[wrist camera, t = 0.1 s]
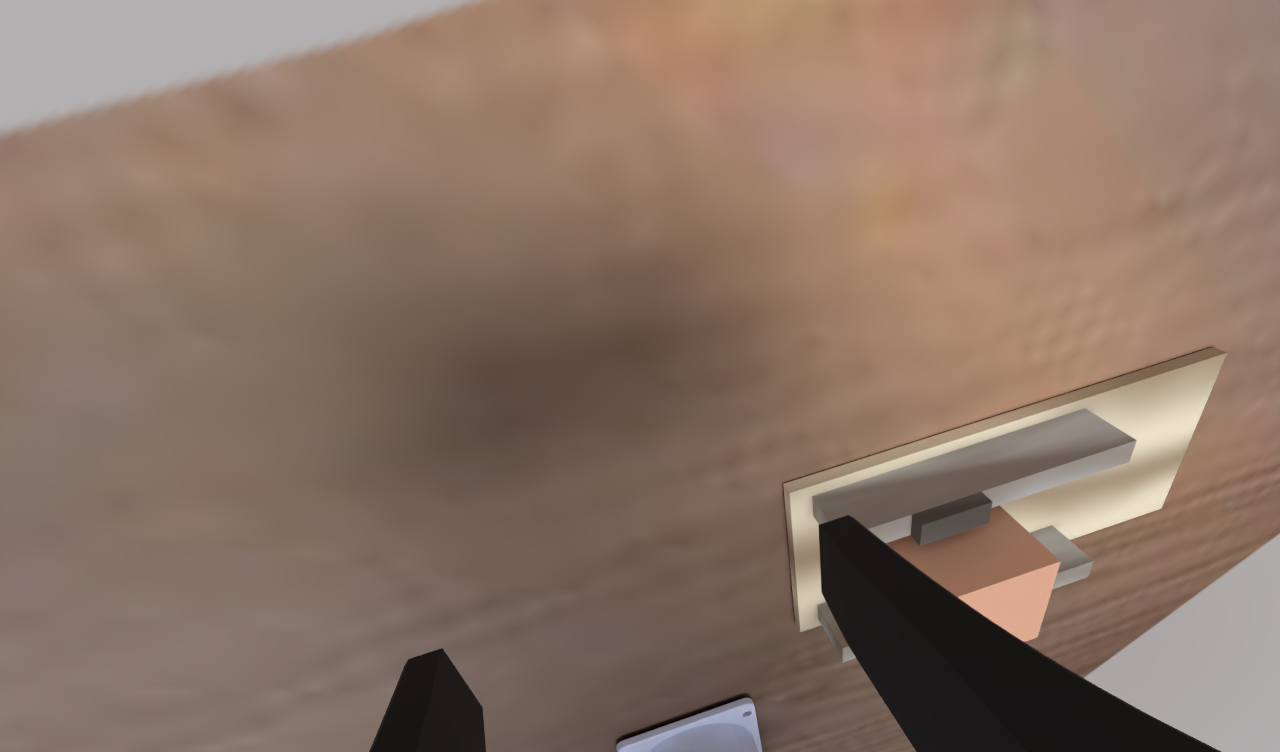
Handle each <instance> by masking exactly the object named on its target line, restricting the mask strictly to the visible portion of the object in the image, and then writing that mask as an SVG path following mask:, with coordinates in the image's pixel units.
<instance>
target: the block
mask: <svg viewBox="0 0 1280 752" xmlns="http://www.w3.org/2000/svg"><path fill="white" fill-rule="evenodd" d="M886 544H887V545H888V546H890V547H891V548H892V549H893V550H895V551H896V552H897V553H898V554H900V555H901V556H902V557H904V558H905V559H906V560H908V561H909V562H910V563H912V564H913V565H914V566H915V567H917V568H918V569H919V570H921V571H922V572H923V573H925V574H926V575H927V576H929V577H930V578H931V579H933V580H934V581H936V582H937V583H938V584H940V585H941V586H943V587H944V588H945V589H947V590H948V591H950V592H951V593H952V594H954V595H955V596H957V597H958V598H959V599H961V600H962V601H964V602H965V603H966V604H968V605H969V606H971V607H972V608H973V609H975V610H976V611H978V612H979V613H981V614H982V615H984V616H985V617H987V618H988V619H990V620H991V621H992V622H994V623H995V624H997V625H999V626H1000V627H1002V628H1003V629H1005V630H1006V631H1008V632H1009V633H1011V634H1012V635H1014V636H1015V637H1017V638H1018V639H1020V640H1021V641H1023V642H1025V641H1028V640H1031V639H1034V638H1037V637H1038V633H1039V630H1040V627H1041V624H1042V621H1043V617H1044V614H1045V611H1046V608H1047V604H1048V601H1049V598H1050V595H1051V592H1052V588H1053V585H1054V582H1055V579H1056V575H1057V572H1058V569H1059V566H1060V563H1061V561H1060V560H1059V559H1058V558H1057V557H1056V556H1055V555H1054V554H1052V553H1051V552H1050V551H1049V550H1048V549H1047V548H1046V547H1045V546H1044V545H1043V544H1041V543H1040V542H1039V541H1038V540H1037V539H1036V538H1035V537H1034V536H1033V535H1032V534H1030V533H1029V532H1028V531H1027V530H1026V529H1025V528H1024V527H1023V526H1022V525H1021V524H1019V523H1018V522H1017V521H1016V520H1015V519H1014V518H1013V517H1012V516H1011V515H1010V514H1008V513H1007V512H1006V511H1005V510H1004V509H1003V508H1002V507H1001V506H1000V505H999V506H996V507H993V508H991V513H990V518H989V523H987V524H984V525H981V526H978V527H975V528H972V529H969V530H966V531H963V532H960V533H957V534H954V535H951V536H948V537H945V538H943V539H940V540H937V541H934V542H931V543H928V544H925V545H922V546H919V544H918V543H917V542H916V541H915V540H914V538H913V537H912V536H911V535H909V536H906V537H903V538H900V539H897V540H894V541H891V542H888V543H886Z"/></svg>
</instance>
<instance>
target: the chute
mask: <svg viewBox="0 0 1280 752" xmlns="http://www.w3.org/2000/svg"><path fill="white" fill-rule="evenodd" d="M1226 355H1227V353H1226V352H1224V351H1222V350H1219V349H1217V348H1214V347H1211V348H1208V349H1205V350H1201V351H1198V352H1195V353H1192V354H1189V355H1186V356H1183V357H1179V358H1176V359H1173V360H1170V361H1167V362H1164V363H1161V364H1158V365H1154V366H1151V367H1148V368H1145V369H1142V370H1139V371H1136V372H1132V373H1129V374H1126V375H1123V376H1120V377H1117V378H1114V379H1110V380H1107V381H1104V382H1101V383H1098V384H1095V385H1092V386H1089V387H1085V388H1082V389H1079V390H1076V391H1073V392H1070V393H1067V394H1063V395H1060V396H1057V397H1054V398H1051V399H1048V400H1045V401H1041V402H1038V403H1035V404H1032V405H1029V406H1026V407H1023V408H1020V409H1016V410H1013V411H1010V412H1007V413H1004V414H1001V415H998V416H994V417H991V418H988V419H985V420H982V421H979V422H976V423H973V424H969V425H966V426H963V427H960V428H957V429H954V430H951V431H947V432H944V433H941V434H938V435H935V436H932V437H929V438H925V439H922V440H919V441H916V442H913V443H910V444H907V445H904V446H900V447H897V448H894V449H891V450H888V451H885V452H882V453H878V454H875V455H872V456H869V457H866V458H863V459H860V460H856V461H853V462H850V463H847V464H844V465H841V466H838V467H835V468H831V469H828V470H825V471H822V472H819V473H816V474H813V475H809V476H806V477H803V478H800V479H797V480H794V481H791V482H787V483H784V484H783V486H784V498H785V510H786V522H787V533H788V545H789V557H790V569H791V580H792V592H793V604H794V616H795V623H796V625H797V627H798V629H799V631H800V632H803V631H806V630H809V629H811V628H814V627H817V626H820V625H822V627H823V629H824V630H825V632H826V634H827V636H828V637H829V639H830V641H831V643H832V645H833V646H834V648H835V650H836V652H837V653H838V655H839V657H840V659H841V660H842V662H846V661H849V660H852V659H855V658H856V657H855V655H854V654H853V652H852V650H851V649H850V647H849V646H848V644H847V642H846V640H845V638H844V636H843V634H842V632H841V630H840V628H839V627H838V625H837V623H836V621H835V619H834V617H833V615H832V613H831V611H830V609H829V607H828V605H827V603H826V601H825V599H824V596H823V594H822V592H821V570H820V547H819V524H823V523H826V522H829V521H832V520H835V519H838V518H841V517H844V516H847V515H850V516H852V517H853V518H855V519H856V520H857V521H858V522H860V523H861V524H862V525H863V526H865V527H866V528H867V529H868V530H870V531H871V532H872V533H873V534H874V535H876V536H877V537H878V538H879V539H881V540H882V541H883V542H884V543H888V542H891V541H894V540H897V539H900V538H903V537H906V536H909V535H911V536H912V537H913V538H914V540H915V541H916V542H917V543H918V544H919V546H922V545H925V544H928V543H931V542H934V541H937V540H940V539H943V538H945V537H948V536H951V535H954V534H957V533H960V532H963V531H966V530H969V529H972V528H975V527H978V526H981V525H984V524H987V523H989V518H990V513H991V508H993V507H996V506H999V505H1000V506H1001V507H1002V508H1003V509H1004V510H1005V511H1006V512H1007V513H1008V514H1010V515H1011V516H1012V517H1013V518H1014V519H1015V520H1016V521H1017V522H1018V523H1019V524H1021V525H1022V526H1023V527H1024V528H1025V529H1026V530H1027V531H1028V532H1029V533H1030V534H1032V535H1033V536H1034V537H1035V538H1036V539H1037V540H1038V541H1039V542H1040V543H1041V544H1043V545H1044V546H1045V547H1046V548H1047V549H1048V550H1049V551H1050V552H1051V553H1052V554H1054V555H1055V556H1056V557H1057V558H1058V559H1059V560H1060V561H1061V563H1060V566H1059V569H1058V572H1057V575H1056V579H1055V582H1054V585H1053V588H1052V589H1055V588H1058V587H1060V586H1063V585H1066V584H1069V583H1072V582H1075V581H1078V580H1080V579H1083V578H1086V577H1088V576H1089V573H1090V570H1091V567H1092V564H1093V562H1094V561H1093V560H1092V559H1091V558H1090V557H1089V556H1087V555H1086V554H1085V553H1084V552H1083V551H1082V550H1080V549H1079V548H1078V547H1077V546H1076V545H1075V544H1073V543H1072V542H1071V541H1070V540H1071V539H1074V538H1077V537H1080V536H1083V535H1085V534H1088V533H1091V532H1094V531H1097V530H1100V529H1103V528H1106V527H1109V526H1112V525H1115V524H1118V523H1120V522H1123V521H1126V520H1129V519H1132V518H1135V517H1138V516H1141V515H1144V514H1147V513H1150V512H1152V511H1155V510H1158V509H1161V508H1162V506H1163V503H1164V501H1165V498H1166V496H1167V494H1168V491H1169V489H1170V487H1171V484H1172V482H1173V480H1174V477H1175V475H1176V473H1177V470H1178V468H1179V465H1180V463H1181V461H1182V458H1183V456H1184V454H1185V451H1186V449H1187V447H1188V444H1189V442H1190V440H1191V437H1192V435H1193V432H1194V430H1195V428H1196V425H1197V423H1198V421H1199V418H1200V416H1201V414H1202V411H1203V409H1204V407H1205V404H1206V402H1207V399H1208V397H1209V395H1210V392H1211V390H1212V388H1213V385H1214V383H1215V381H1216V378H1217V376H1218V374H1219V371H1220V369H1221V366H1222V364H1223V362H1224V359H1225V357H1226Z"/></svg>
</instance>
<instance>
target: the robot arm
mask: <svg viewBox="0 0 1280 752" xmlns="http://www.w3.org/2000/svg"><path fill="white" fill-rule="evenodd" d="M819 547H820V570H821V592H822V594H823V596H824V599H825V601H826V603H827V605H828V607H829V609H830V611H831V613H832V615H833V617H834V619H835V621H836V623H837V625H838V627H839V628H840V630H841V632H842V634H843V636H844V638H845V640H846V642H847V644H848V646H849V647H850V649H851V650H852V652H853V654H854V655H855V657H856V658H857V660H858V661H859V663H860V665H861V666H862V668H863V669H864V671H865V672H866V674H867V676H868V677H869V679H870V680H871V682H872V683H873V685H874V686H875V688H876V690H877V691H878V693H879V694H880V696H881V697H882V699H883V700H884V702H885V703H886V705H887V707H888V708H889V710H890V711H891V713H892V714H893V716H894V717H895V719H896V721H897V722H898V724H899V725H900V727H901V728H902V730H903V731H904V733H905V734H906V736H907V738H908V739H909V741H910V742H911V744H912V745H913V747H914V748H915V750H916V751H917V752H1221V751H1219V750H1217V749H1215V748H1213V747H1211V746H1209V745H1207V744H1205V743H1203V742H1201V741H1199V740H1197V739H1195V738H1193V737H1191V736H1189V735H1187V734H1185V733H1183V732H1181V731H1179V730H1177V729H1175V728H1173V727H1171V726H1169V725H1167V724H1165V723H1164V722H1161V721H1160V720H1158V719H1156V718H1154V717H1152V716H1150V715H1148V714H1146V713H1144V712H1142V711H1141V710H1139V709H1137V708H1135V707H1133V706H1131V705H1130V704H1128V703H1126V702H1124V701H1123V700H1121V699H1119V698H1117V697H1115V696H1113V695H1112V694H1110V693H1108V692H1106V691H1105V690H1103V689H1101V688H1099V687H1097V686H1096V685H1094V684H1092V683H1091V682H1089V681H1087V680H1085V679H1084V678H1082V677H1080V676H1079V675H1077V674H1075V673H1073V672H1072V671H1070V670H1068V669H1067V668H1065V667H1063V666H1062V665H1060V664H1058V663H1057V662H1055V661H1053V660H1052V659H1050V658H1048V657H1047V656H1045V655H1044V654H1042V653H1040V652H1039V651H1037V650H1036V649H1034V648H1032V647H1031V646H1029V645H1028V644H1026V643H1024V642H1023V641H1021V640H1020V639H1018V638H1017V637H1015V636H1014V635H1012V634H1011V633H1009V632H1008V631H1006V630H1005V629H1003V628H1002V627H1000V626H999V625H997V624H995V623H994V622H992V621H991V620H990V619H988V618H987V617H985V616H984V615H982V614H981V613H979V612H978V611H976V610H975V609H973V608H972V607H971V606H969V605H968V604H966V603H965V602H964V601H962V600H961V599H959V598H958V597H957V596H955V595H954V594H952V593H951V592H950V591H948V590H947V589H945V588H944V587H943V586H941V585H940V584H938V583H937V582H936V581H934V580H933V579H931V578H930V577H929V576H927V575H926V574H925V573H923V572H922V571H921V570H919V569H918V568H917V567H915V566H914V565H913V564H912V563H910V562H909V561H908V560H906V559H905V558H904V557H902V556H901V555H900V554H898V553H897V552H896V551H895V550H893V549H892V548H891V547H890V546H888V545H887V544H886V543H884V542H883V541H882V540H881V539H879V538H878V537H877V536H876V535H874V534H873V533H872V532H871V531H870V530H868V529H867V528H866V527H865V526H863V525H862V524H861V523H860V522H858V521H857V520H856V519H855V518H853V517H852V516H850V515H847V516H844V517H841V518H838V519H835V520H832V521H829V522H826V523H823V524H819ZM616 749H617V752H762V747H761V741H760V735H759V729H758V724H757V718H756V712H755V706H754V703H753V701H752V699H750V698H742V699H740V700H737V701H734V702H731V703H728V704H725V705H722V706H720V707H717V708H714V709H711V710H708V711H705V712H703V713H700V714H697V715H694V716H691V717H688V718H685V719H683V720H680V721H677V722H674V723H671V724H668V725H665V726H663V727H660V728H657V729H654V730H651V731H648V732H645V733H643V734H640V735H637V736H634V737H631V738H628V739H625V740H623V741H621V742H619V743H618V744H617V746H616ZM369 752H486V749H485V734H484V721H483V709H482V706H481V705H480V703H479V702H478V700H477V699H476V697H475V696H474V694H473V693H472V691H471V690H470V688H469V687H468V685H467V684H466V682H465V681H464V680H463V678H462V677H461V675H460V674H459V672H458V671H457V669H456V668H455V666H454V665H453V663H452V662H451V660H450V659H449V657H448V656H447V654H446V653H445V652H444V650H443V649H439V650H436V651H433V652H429V653H426V654H423V655H420V656H417V657H414V658H411V659H409V660H408V661H407V663H406V664H405V666H404V669H403V671H402V674H401V676H400V679H399V681H398V684H397V686H396V689H395V691H394V693H393V696H392V698H391V701H390V703H389V706H388V708H387V711H386V713H385V716H384V718H383V720H382V723H381V725H380V728H379V730H378V732H377V735H376V737H375V740H374V742H373V744H372V747H371V749H370V751H369Z"/></svg>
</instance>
